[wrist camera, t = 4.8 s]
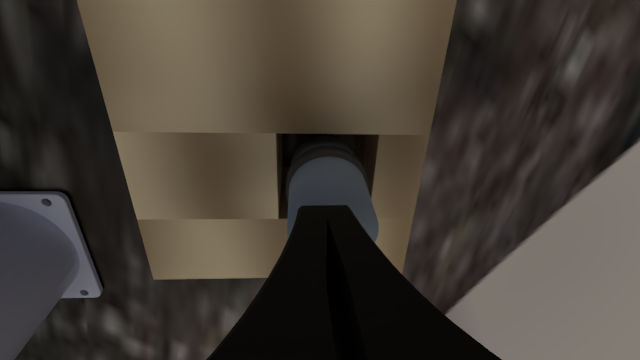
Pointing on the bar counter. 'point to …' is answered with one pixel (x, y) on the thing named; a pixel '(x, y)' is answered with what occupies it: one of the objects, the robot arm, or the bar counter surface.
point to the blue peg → (329, 181)
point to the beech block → (261, 114)
